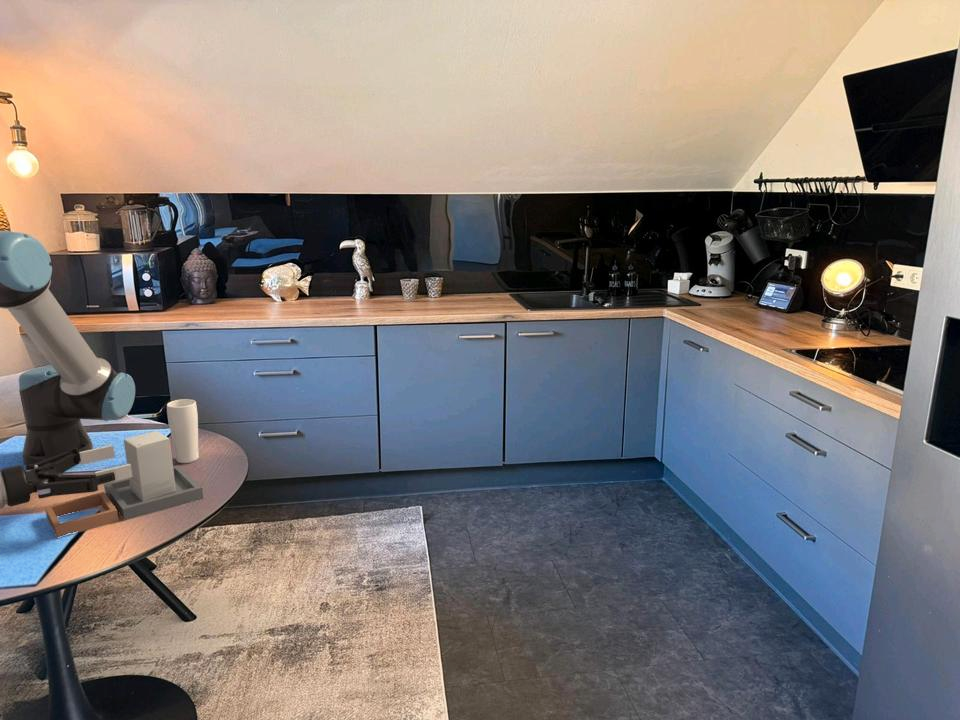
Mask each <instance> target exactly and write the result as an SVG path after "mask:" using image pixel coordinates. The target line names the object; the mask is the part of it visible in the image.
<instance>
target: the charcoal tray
mask: <svg viewBox="0 0 960 720" xmlns="http://www.w3.org/2000/svg"><path fill="white" fill-rule="evenodd" d="M173 471H174V479H175V487H176V491H175V492H173V493H170V494H166V495H163V496H160V497H157V498H153V499H150V500H146V501H142V500H141V499H139V498H138V497H137V496H136V495H134V494H133V493H132V492H131V489H130V481H129V478H126V479H122V480H119V481H115V482H111V483H107V484H103V486H104V493H105V494H106V496H107V497H108V498H109V500H110V501H111V502H112V504H113V505H114V506H115V508H116V509H117V513H118V514H119V513H120V514H119V515H120V517H122V519H123V520H124V521H127V519H128V520H131V519H135V518H139V517H141V516H146V515H148V514H153V513H156V512H159V511H162V509H163V510H166V509H169V507H170V508H173V507H176V506H180V505H183V504H188V503H190V502H194V501H198V500H200V498H201V499H204V493H203V491H204V490H203V487H202V486H201V485H200V484H199V483H197V480H196V479H194V478H193V477H192V476H191V475H190V474H189V473H188V472H187V471H185V470H184V469H183V468H182V467H181V465H179V464H178V465H173ZM197 499H198V500H197ZM193 500H194V501H193ZM165 508H166V509H165ZM158 510H159V511H158ZM155 511H156V512H155Z"/></svg>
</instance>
